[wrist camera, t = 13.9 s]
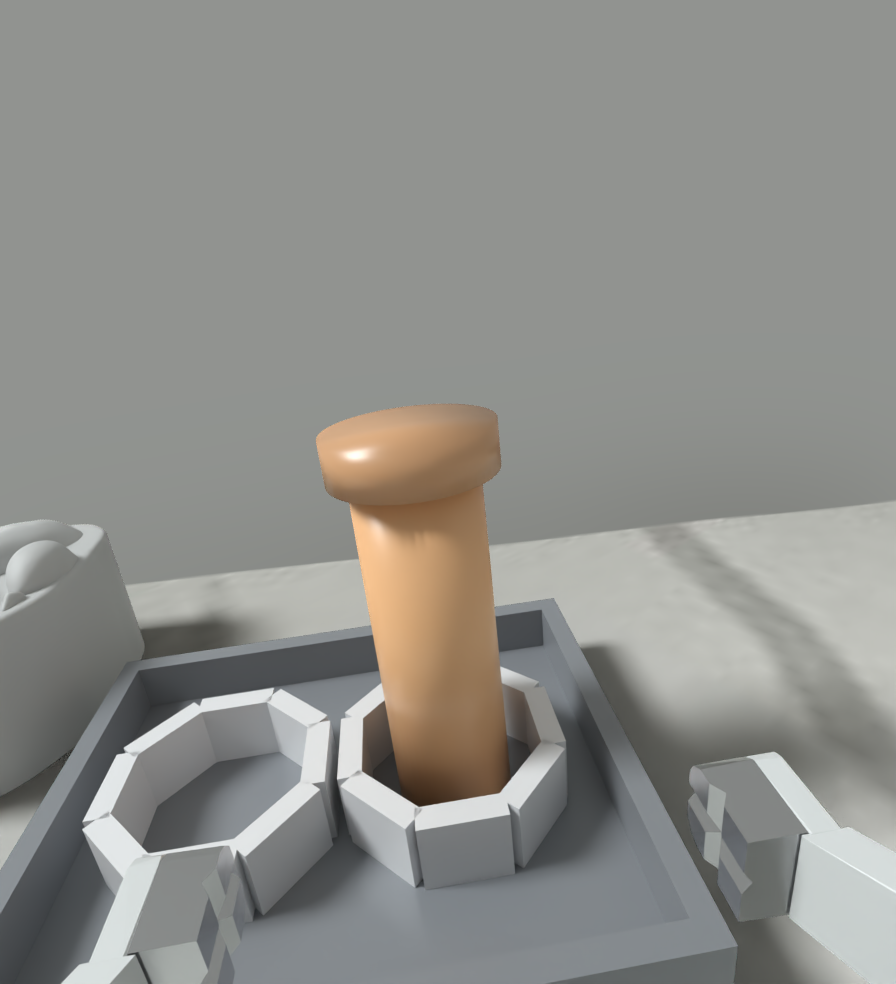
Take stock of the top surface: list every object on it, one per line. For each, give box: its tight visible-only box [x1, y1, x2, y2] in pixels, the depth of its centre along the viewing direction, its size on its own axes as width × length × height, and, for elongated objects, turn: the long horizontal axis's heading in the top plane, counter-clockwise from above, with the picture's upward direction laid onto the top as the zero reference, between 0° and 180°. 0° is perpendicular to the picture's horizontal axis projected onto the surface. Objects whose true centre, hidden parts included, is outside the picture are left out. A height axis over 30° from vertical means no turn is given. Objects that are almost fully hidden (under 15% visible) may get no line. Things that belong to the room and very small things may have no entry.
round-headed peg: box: [316, 404, 511, 807], centre depth 20 cm, size 5×5×13 cm
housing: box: [0, 598, 738, 984], centre depth 22 cm, size 16×20×4 cm
